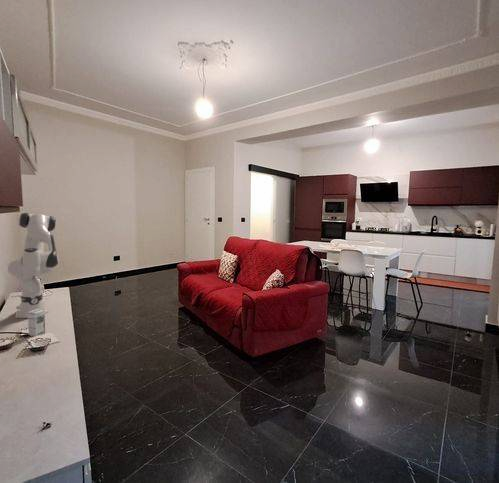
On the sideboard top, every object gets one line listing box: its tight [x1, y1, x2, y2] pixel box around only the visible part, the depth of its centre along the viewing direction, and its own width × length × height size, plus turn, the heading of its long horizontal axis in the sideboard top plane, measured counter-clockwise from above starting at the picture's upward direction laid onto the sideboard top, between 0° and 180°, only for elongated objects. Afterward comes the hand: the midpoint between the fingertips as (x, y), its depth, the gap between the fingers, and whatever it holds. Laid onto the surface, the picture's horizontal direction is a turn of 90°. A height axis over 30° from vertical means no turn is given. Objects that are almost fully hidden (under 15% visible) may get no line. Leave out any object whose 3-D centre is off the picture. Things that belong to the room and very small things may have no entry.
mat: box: [25, 332, 61, 345], centre depth 166 cm, size 16×12×1 cm
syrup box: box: [27, 309, 46, 337], centre depth 173 cm, size 6×6×14 cm
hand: (32, 297), depth 177 cm, fingers closed
